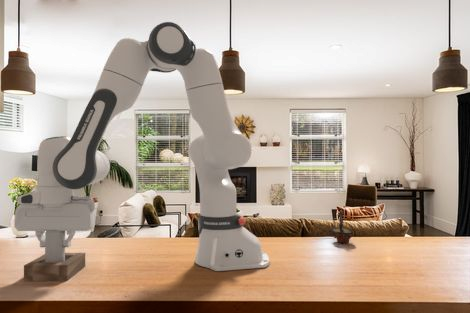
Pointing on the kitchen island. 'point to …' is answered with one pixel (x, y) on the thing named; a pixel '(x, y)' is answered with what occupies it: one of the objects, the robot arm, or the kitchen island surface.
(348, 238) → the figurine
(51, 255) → the beverage can
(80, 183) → the robot arm
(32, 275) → the walnut holder
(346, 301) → the kitchen island surface
